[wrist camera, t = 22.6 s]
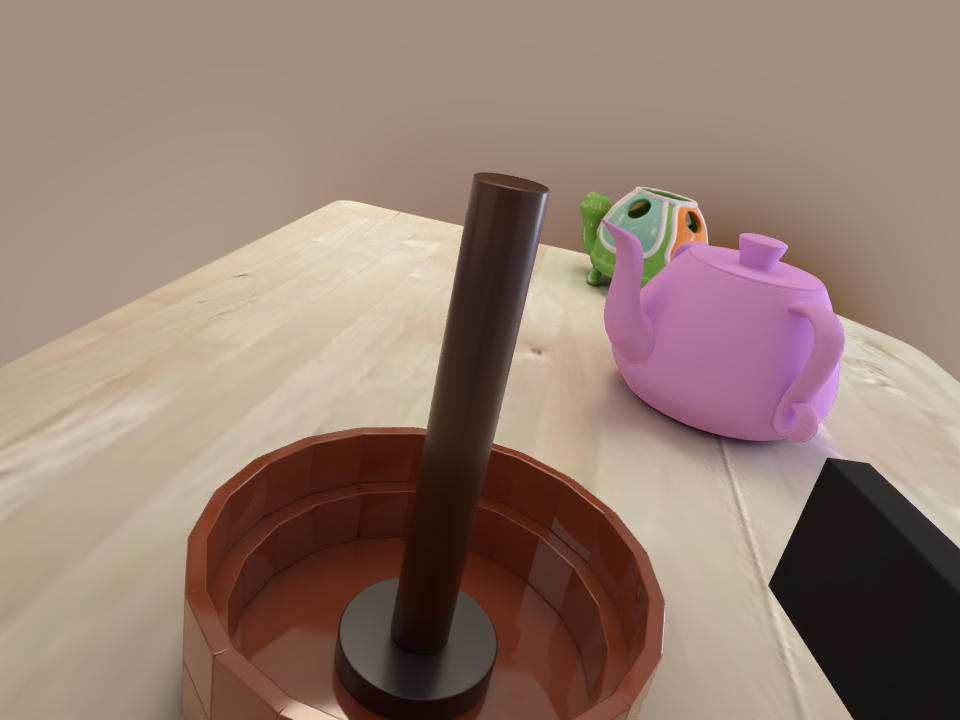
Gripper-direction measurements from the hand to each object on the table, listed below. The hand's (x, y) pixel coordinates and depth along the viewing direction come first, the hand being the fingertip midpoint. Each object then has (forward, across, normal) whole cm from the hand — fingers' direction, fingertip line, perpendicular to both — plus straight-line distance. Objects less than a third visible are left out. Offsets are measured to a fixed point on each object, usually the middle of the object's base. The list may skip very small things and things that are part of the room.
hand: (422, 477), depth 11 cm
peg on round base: (+10, +2, -15) cm, 18 cm away
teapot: (+39, +23, -16) cm, 48 cm away
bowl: (+10, +2, -16) cm, 19 cm away
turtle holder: (+70, +28, -16) cm, 77 cm away
